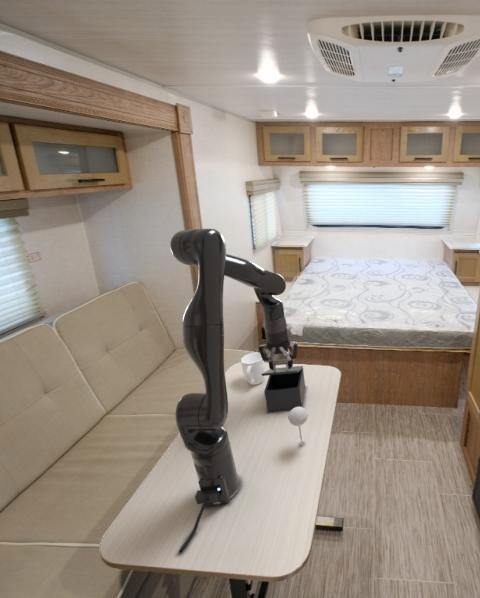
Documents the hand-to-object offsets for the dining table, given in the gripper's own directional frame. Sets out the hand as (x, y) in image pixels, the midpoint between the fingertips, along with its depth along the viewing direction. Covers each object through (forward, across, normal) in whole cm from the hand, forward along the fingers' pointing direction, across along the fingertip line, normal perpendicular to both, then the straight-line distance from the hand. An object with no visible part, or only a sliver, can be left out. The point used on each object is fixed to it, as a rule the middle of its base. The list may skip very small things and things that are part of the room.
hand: (281, 368), depth 128 cm
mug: (+16, -15, +16) cm, 27 cm away
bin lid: (+3, 0, +2) cm, 4 cm away
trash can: (+16, 0, +3) cm, 16 cm away
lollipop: (+17, +8, -22) cm, 29 cm away
